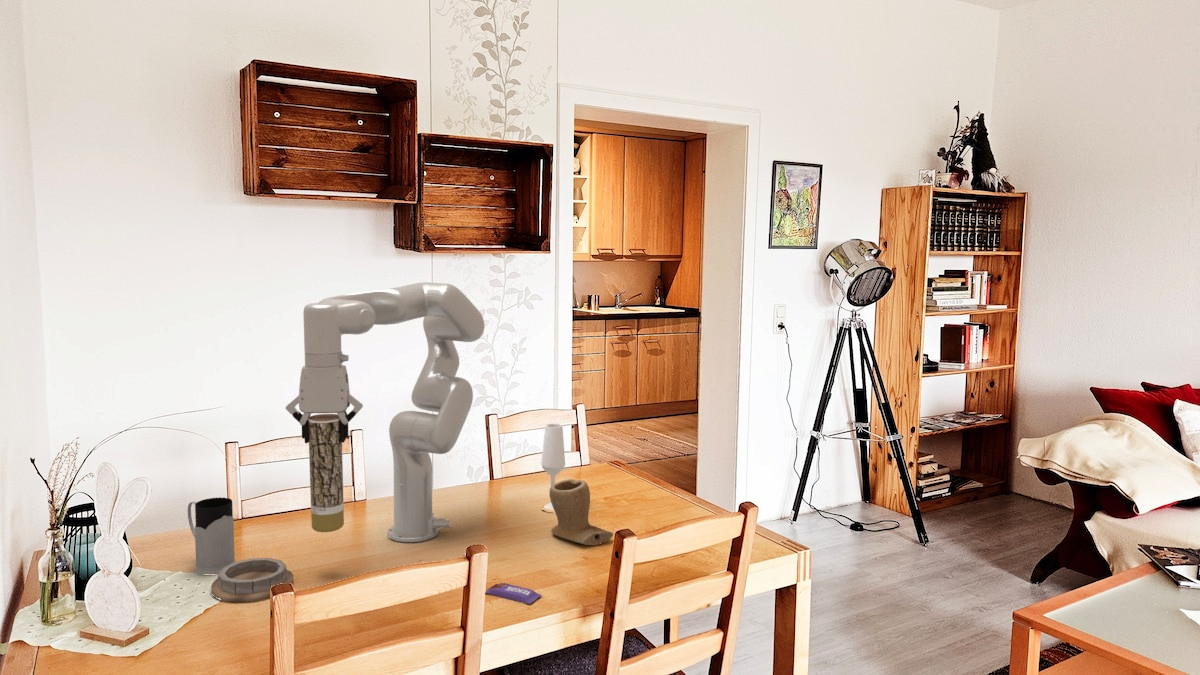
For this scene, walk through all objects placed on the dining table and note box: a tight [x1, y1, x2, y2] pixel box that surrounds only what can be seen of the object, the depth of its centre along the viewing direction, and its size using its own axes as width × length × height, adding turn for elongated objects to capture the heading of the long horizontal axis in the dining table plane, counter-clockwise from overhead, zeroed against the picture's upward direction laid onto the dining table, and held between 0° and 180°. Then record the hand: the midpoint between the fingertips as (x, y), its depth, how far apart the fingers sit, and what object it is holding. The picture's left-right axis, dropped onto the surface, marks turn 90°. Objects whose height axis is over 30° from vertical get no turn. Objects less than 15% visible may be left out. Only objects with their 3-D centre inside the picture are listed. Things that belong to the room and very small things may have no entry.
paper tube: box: [308, 413, 345, 533], centre depth 176 cm, size 7×7×25 cm
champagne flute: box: [540, 423, 566, 510], centre depth 225 cm, size 7×7×24 cm
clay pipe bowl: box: [549, 478, 614, 546], centre depth 203 cm, size 15×12×15 cm
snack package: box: [485, 582, 542, 605], centre depth 170 cm, size 12×2×5 cm
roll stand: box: [210, 557, 294, 604], centre depth 171 cm, size 16×16×4 cm
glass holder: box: [187, 497, 237, 575], centre depth 181 cm, size 9×14×15 cm, turn 58°
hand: (325, 440), depth 175 cm, fingers closed on paper tube, 6 cm apart
